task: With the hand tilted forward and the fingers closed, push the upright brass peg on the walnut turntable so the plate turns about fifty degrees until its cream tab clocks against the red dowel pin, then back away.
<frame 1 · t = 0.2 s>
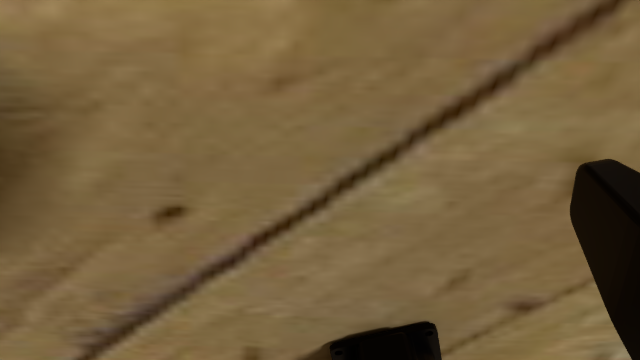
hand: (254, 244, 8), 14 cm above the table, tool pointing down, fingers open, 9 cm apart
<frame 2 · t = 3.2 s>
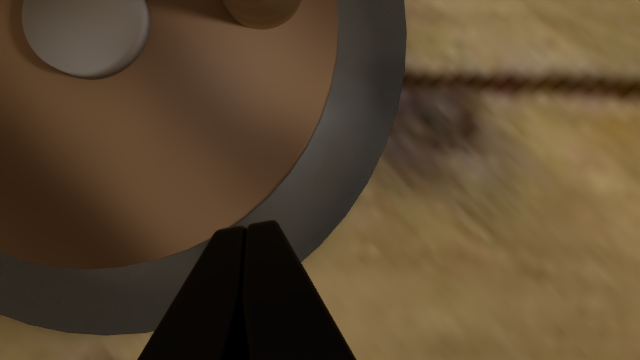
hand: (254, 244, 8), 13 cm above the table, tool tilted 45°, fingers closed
base and dowel: (116, 41, 22), on the table
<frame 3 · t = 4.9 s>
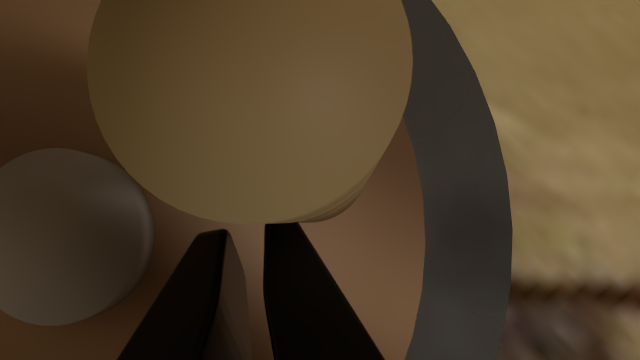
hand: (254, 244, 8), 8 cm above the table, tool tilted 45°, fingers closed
base and dowel: (106, 233, 16), on the table
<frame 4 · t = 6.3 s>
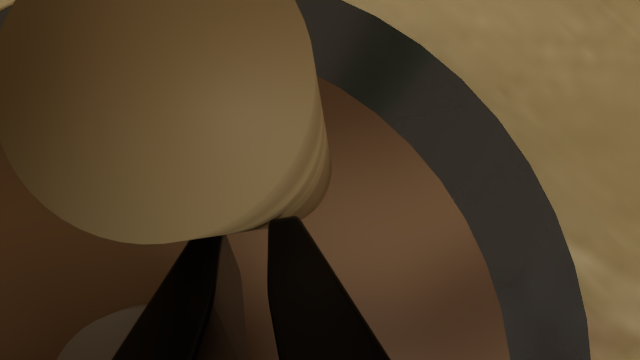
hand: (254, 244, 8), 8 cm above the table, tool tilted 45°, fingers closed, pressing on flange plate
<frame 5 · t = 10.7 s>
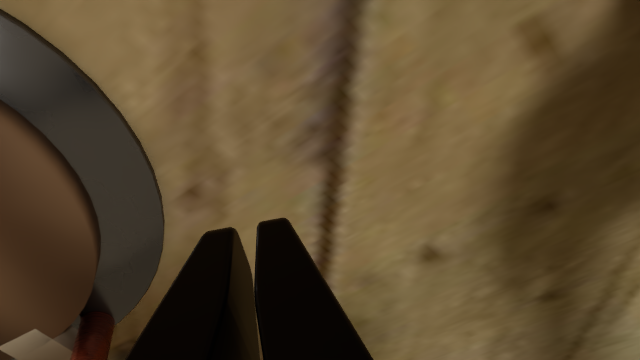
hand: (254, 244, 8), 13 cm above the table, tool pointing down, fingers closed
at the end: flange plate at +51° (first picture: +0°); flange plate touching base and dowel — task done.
